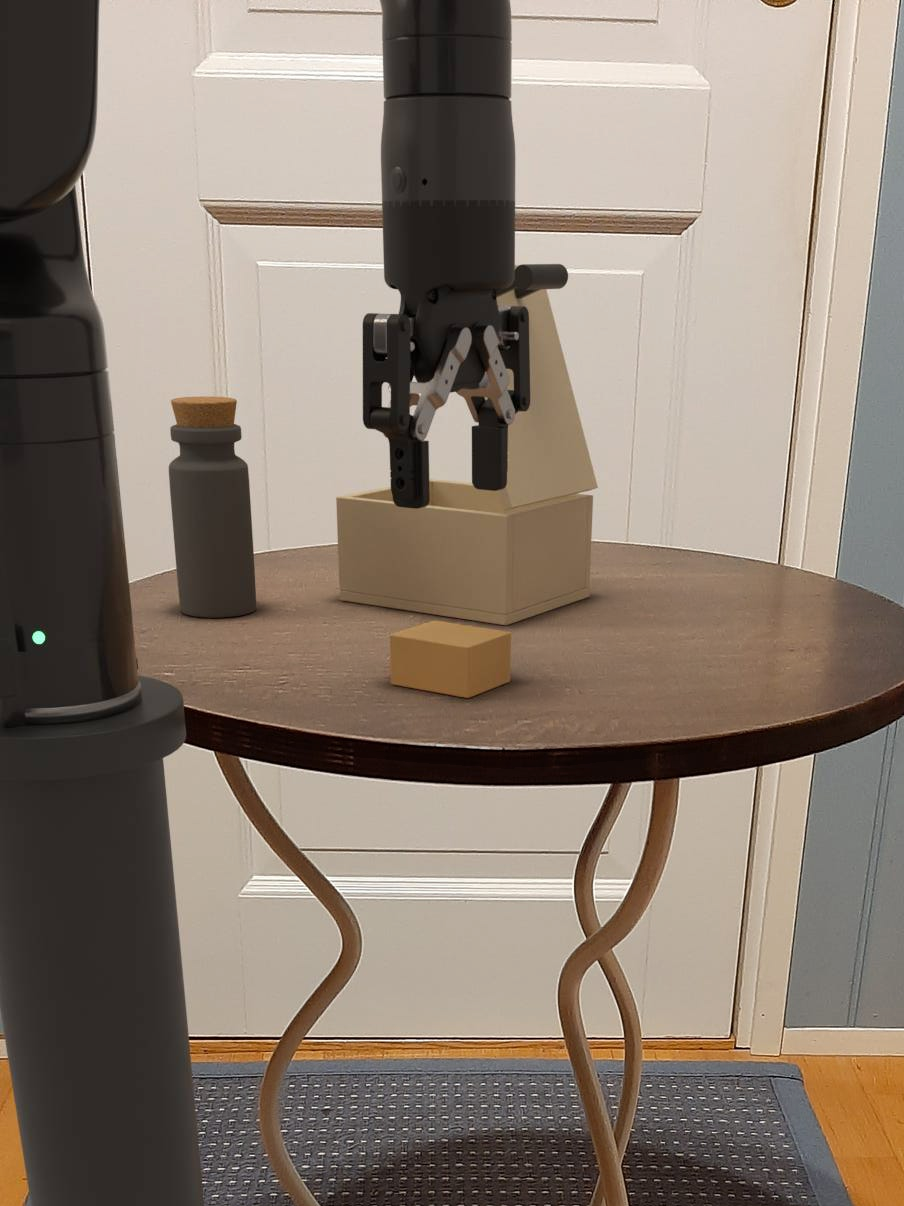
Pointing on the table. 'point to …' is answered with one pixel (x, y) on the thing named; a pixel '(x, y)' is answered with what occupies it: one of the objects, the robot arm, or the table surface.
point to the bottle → (211, 510)
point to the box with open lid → (464, 553)
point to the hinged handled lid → (544, 403)
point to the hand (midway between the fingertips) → (451, 497)
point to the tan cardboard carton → (450, 658)
